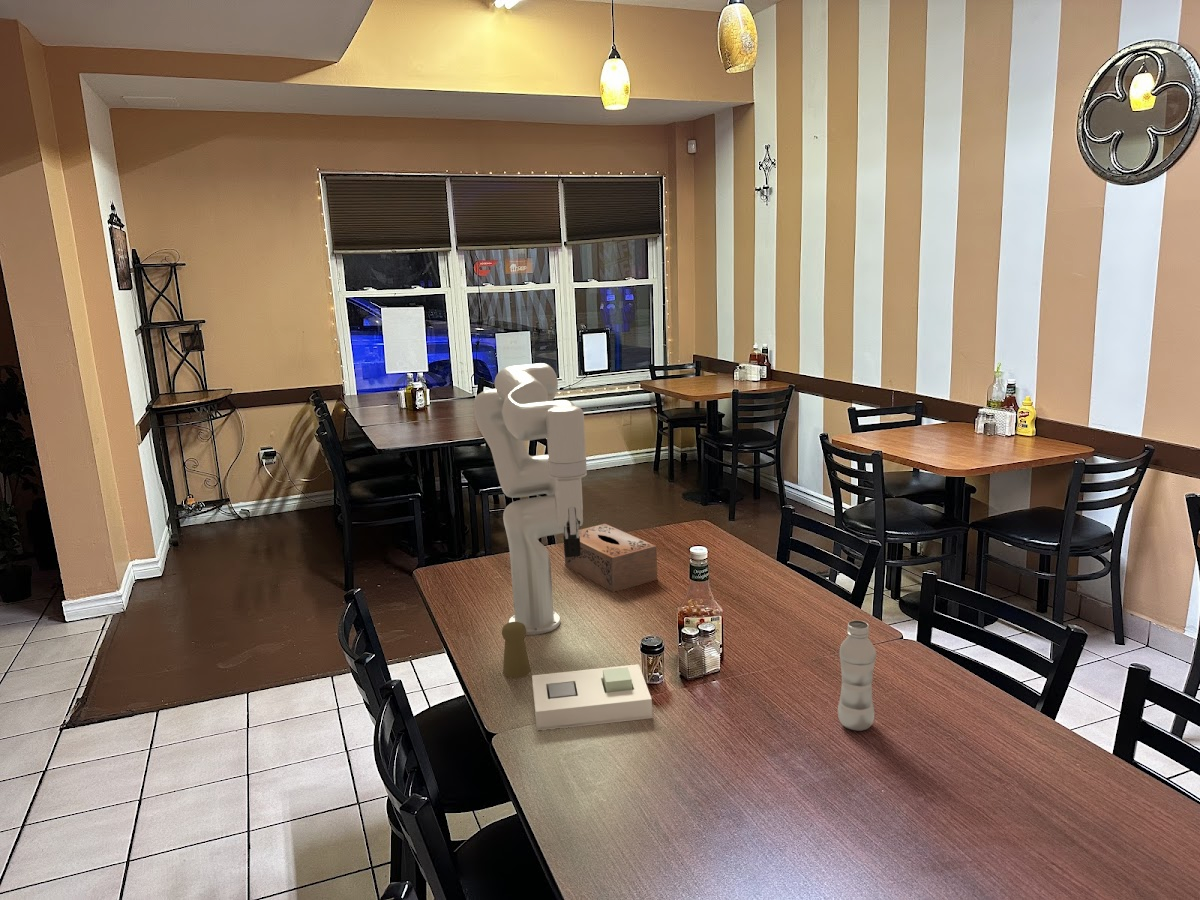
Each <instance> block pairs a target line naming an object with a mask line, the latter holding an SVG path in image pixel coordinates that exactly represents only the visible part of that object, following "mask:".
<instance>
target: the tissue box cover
mask: <svg viewBox="0 0 1200 900" xmlns="http://www.w3.org/2000/svg"><path fill="white" fill-rule="evenodd" d="M562 535H563V536H564V533H562ZM579 537H580V550H581V555H580V556H576V557H565V556H564V566H565V567H567V568H569V569H571V570H573V571H575V572H576V571H577V572H576V573H578V574H580V573H581V574H580V575H582V576H584V577H585V576H586V578H587V579H589V580H591V581H593V582H595V583H596V582H597V583H596V584H598V585H600V586H602V587H603V586H604V588H605V587H606V588H605V589H607V590H609V591H611V592H612V591H613V593H616V592H615V591H617V592H619V590H620V591H623V590H622V589H624V590H626V589H630V588H633V587H637V586H639V585H643V584H647V583H651V582H653V581H656V580H658V558H657V556H658V555H657V545H655V544H653V543H651V542H648V541H646V540H644V539H641V538H640V537H637V536H634V535H633V534H630V533H627V532H625V531H623V530H620V529H618V528H616V527H614V526H611V525H609V524H607V523H601V524H598V525H593V526H589V527H585V528H581V529H579Z"/></svg>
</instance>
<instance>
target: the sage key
mask: <svg viewBox="0 0 1200 900" xmlns="http://www.w3.org/2000/svg"><path fill="white" fill-rule="evenodd" d="M603 684H604V688H605V691H606V693H608V692H617V691H626V690H632V679H631V676H630V673H629V670H628V667H625V668H615V669H606V670H603Z"/></svg>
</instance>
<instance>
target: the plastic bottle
mask: <svg viewBox="0 0 1200 900" xmlns="http://www.w3.org/2000/svg"><path fill="white" fill-rule="evenodd" d="M846 633H847V637H846V638H845V639H844V640H843V641H842V642H841V644H840V647H839V653H838V654H839V660H840V661H839V662H840V670H841V672H840V673H841V688H840V697H839V701H838V706H837V716H838V720H839V722H840V723H841V725H842V726H843V727H845V728H846V729H848V730H851V731H857V732H858V731H859V732H861V731H865V730H868V729H869V728H870V727H871V726H872V725H873V723H874V719H875V715H876V714H875V708H874V702H873V689H872V688H873V687H872V685H873V675H874V669H875V664H876V658H877V651H876V648H875V646H874V644H873V642H872V641H871V640H870V638H869V636H870V625H869V623H868V622H866V621H864V620H860V619H853V620H850V621H849V622H848V623H847V630H846Z"/></svg>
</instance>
